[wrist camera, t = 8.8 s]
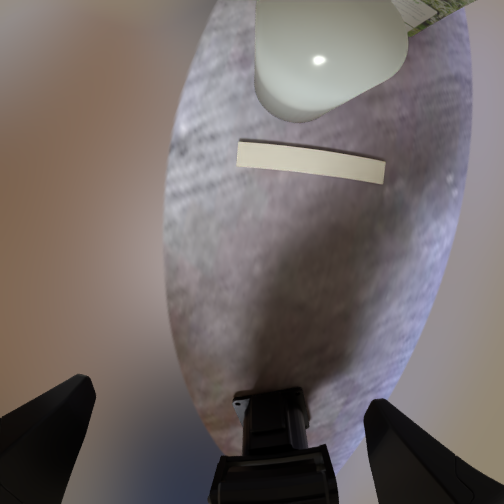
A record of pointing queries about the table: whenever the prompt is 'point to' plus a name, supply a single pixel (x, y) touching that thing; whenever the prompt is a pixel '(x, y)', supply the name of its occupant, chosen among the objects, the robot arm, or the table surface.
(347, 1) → the grey-green rounded cylinder
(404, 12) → the syrup box
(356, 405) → the table surface
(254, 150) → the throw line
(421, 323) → the table surface
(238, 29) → the table surface
